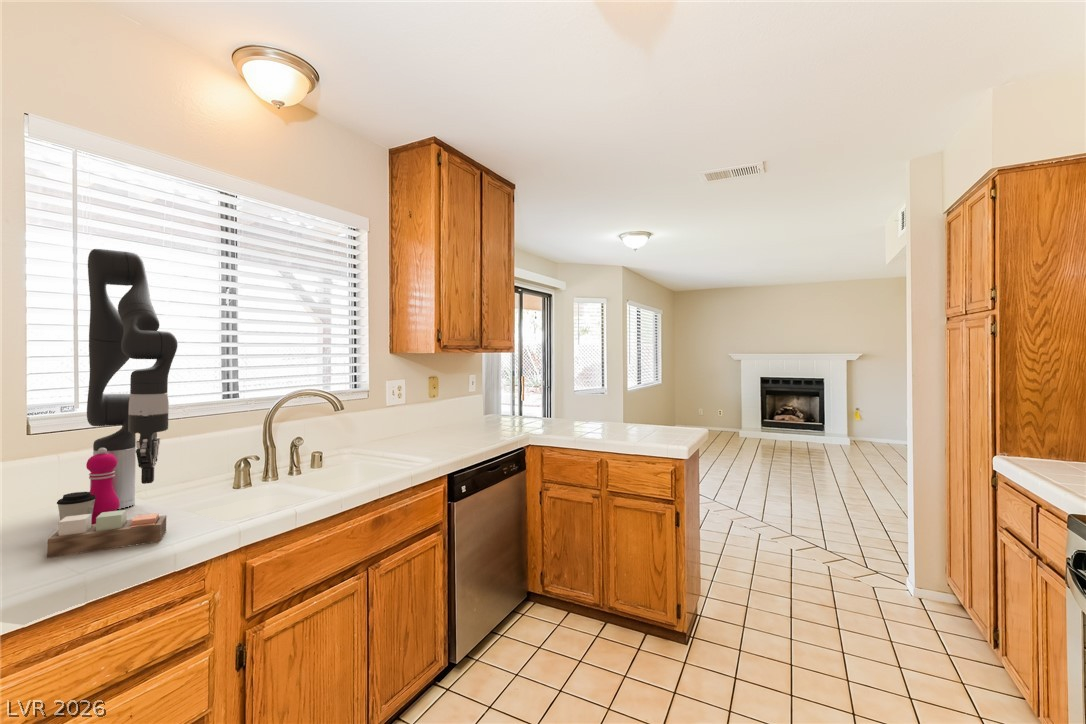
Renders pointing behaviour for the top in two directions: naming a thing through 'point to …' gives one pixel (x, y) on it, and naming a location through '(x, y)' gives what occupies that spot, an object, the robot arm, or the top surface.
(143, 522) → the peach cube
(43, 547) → the top surface
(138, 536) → the wooden tray
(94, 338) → the robot arm
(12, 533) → the top surface
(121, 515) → the sage key
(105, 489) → the pepper mill
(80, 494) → the coffee cup
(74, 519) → the ivory key
